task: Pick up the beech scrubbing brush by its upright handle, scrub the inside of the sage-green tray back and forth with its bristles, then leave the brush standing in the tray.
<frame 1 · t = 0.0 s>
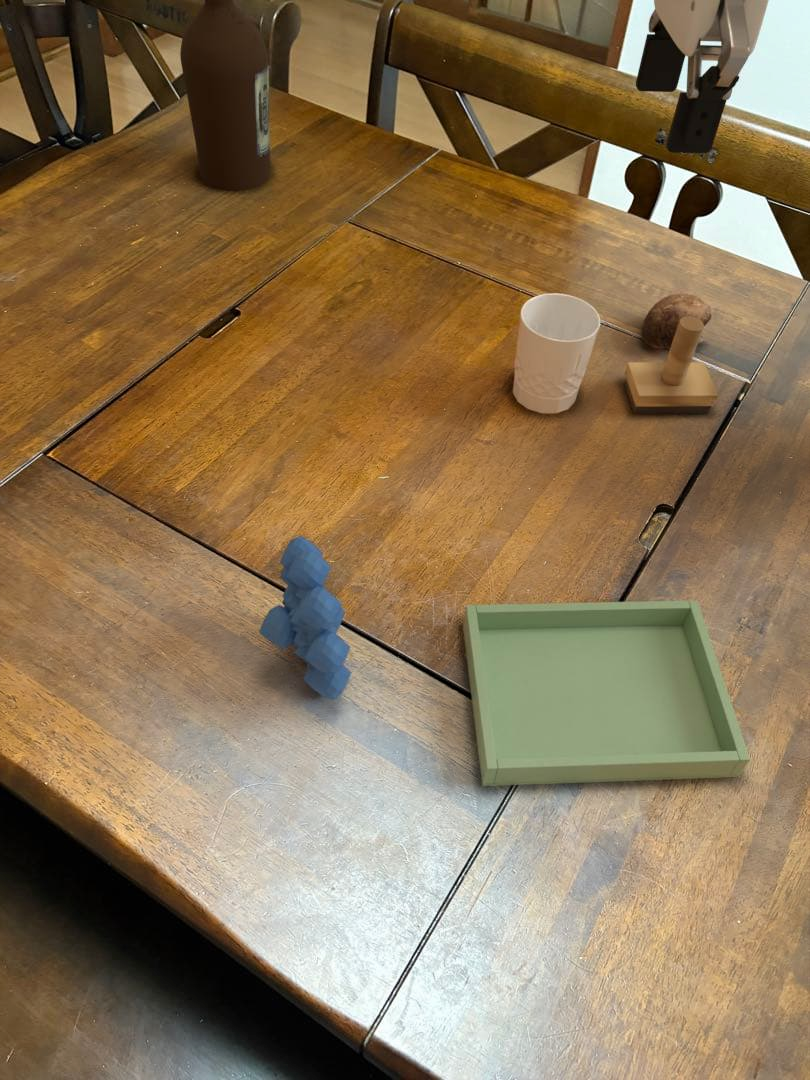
hand: (670, 119, 69), 33 cm above the table, tool pointing down, fingers open, 9 cm apart
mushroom: (668, 343, 105), on the table
white cup: (543, 395, 98), on the table
tray: (592, 698, 73), on the table
olive oil: (236, 176, 124), on the table
grapes: (305, 664, 74), on the table
brush: (664, 400, 98), on the table
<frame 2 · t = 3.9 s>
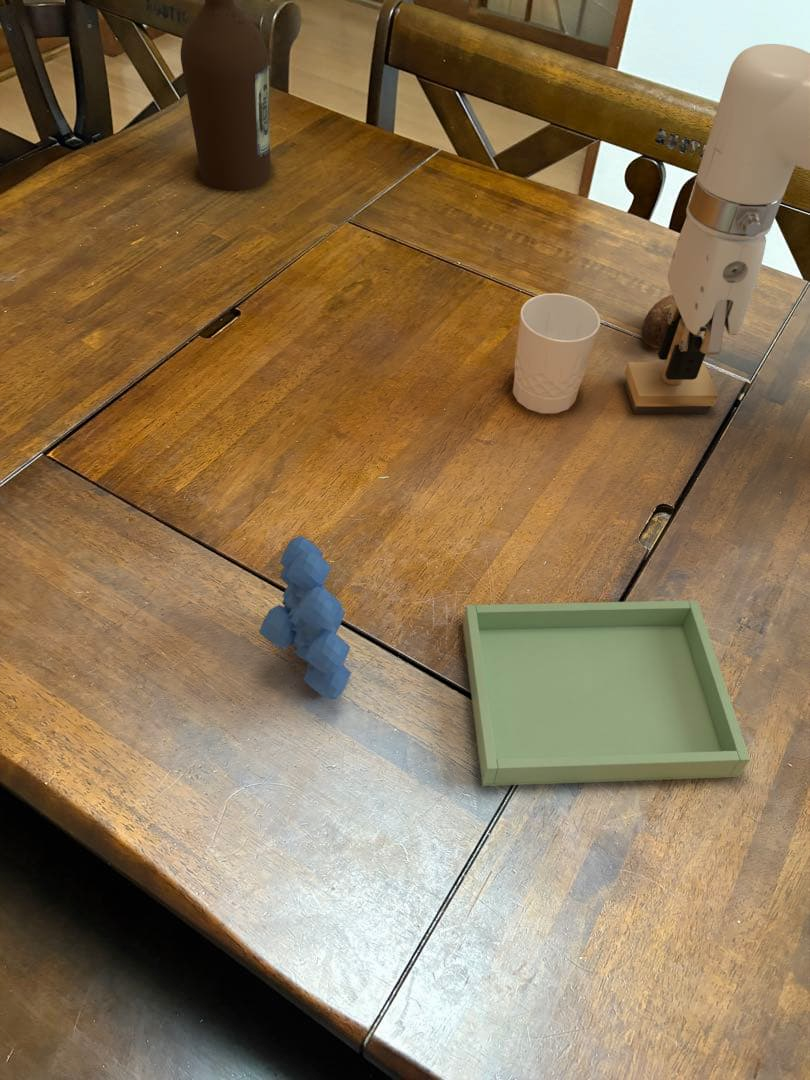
hand: (676, 366, 94), 5 cm above the table, tool pointing down, fingers closed on brush, 2 cm apart
brush: (664, 400, 98), on the table, touching gripper
everything else where it was.
when the fingers open (5 cm above the table, at t = 16.4 s): brush stays where it is, resting on tray.
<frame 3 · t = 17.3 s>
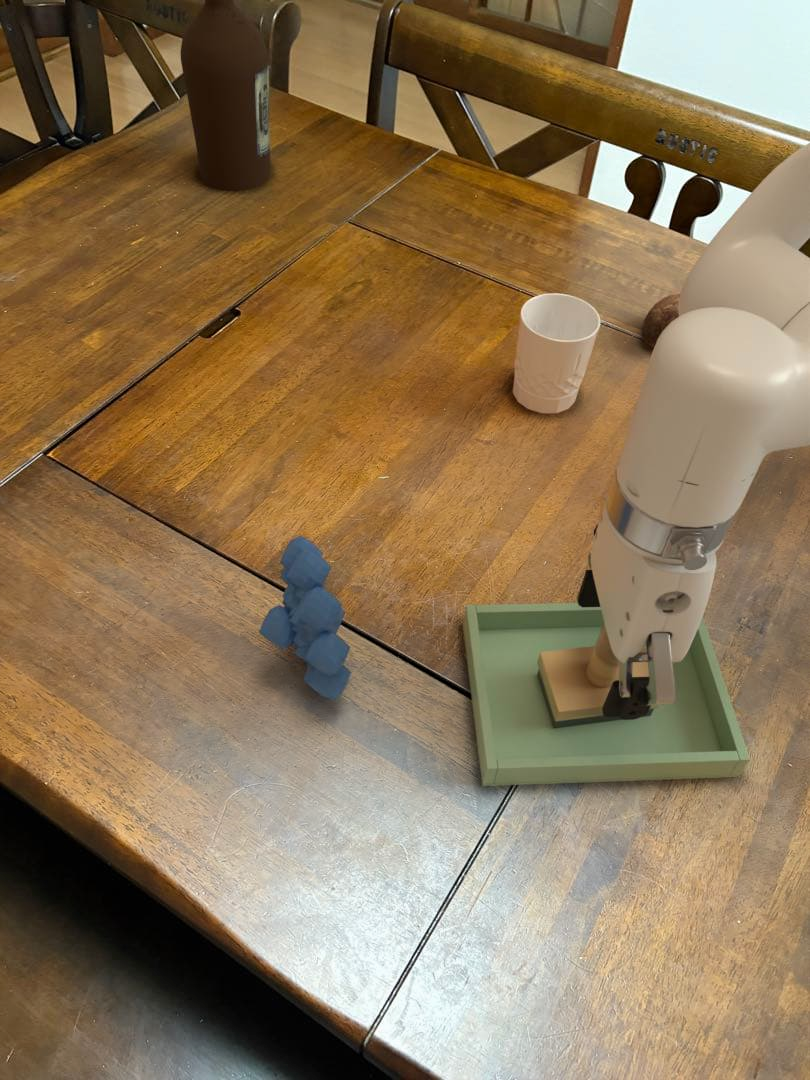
hand: (609, 655, 69), 6 cm above the table, tool pointing down, fingers open, 9 cm apart
brush: (593, 694, 73), point 1 cm above the table, touching tray
everything else where it was.
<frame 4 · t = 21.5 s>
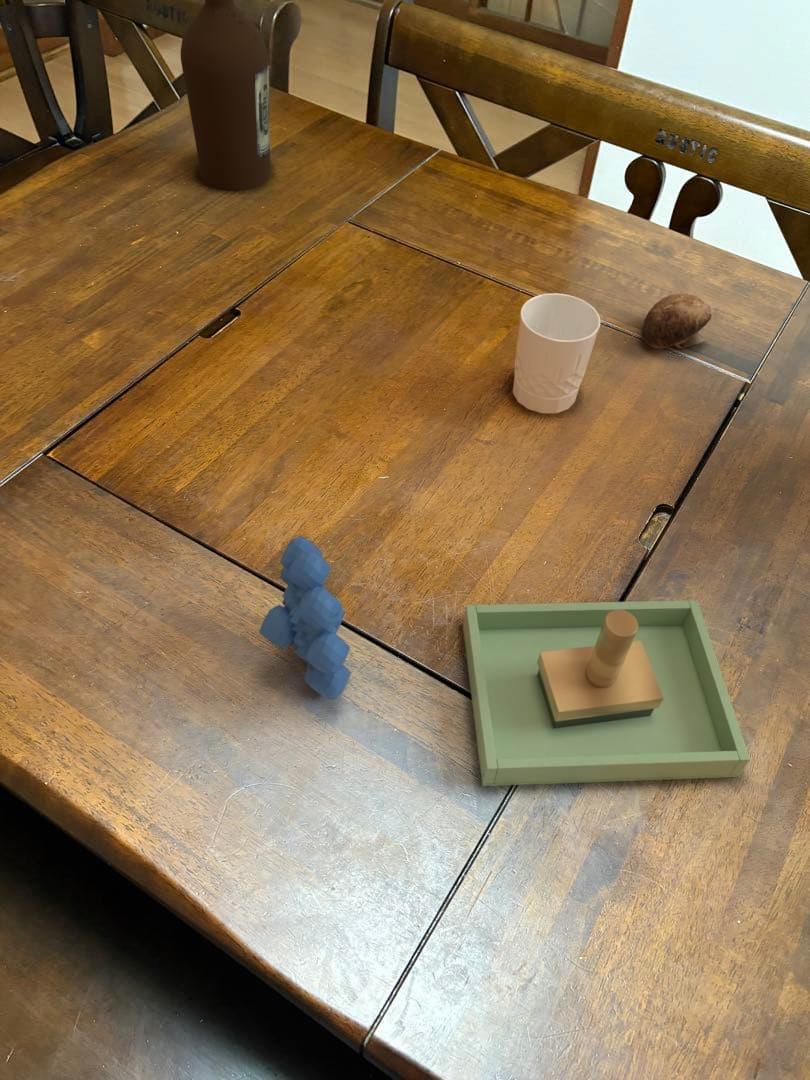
nothing on the table moved.
at the end: brush inside the target area in the tray (0.1 cm from its centre), point 0.6 cm above the tray's base; brush tilted 0°; the gripper is holding nothing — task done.
